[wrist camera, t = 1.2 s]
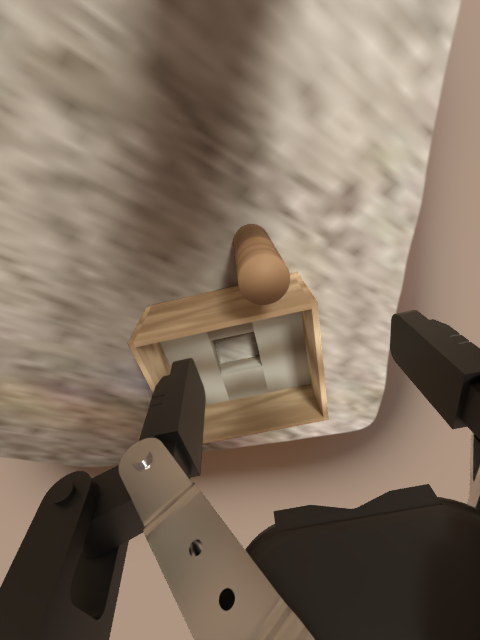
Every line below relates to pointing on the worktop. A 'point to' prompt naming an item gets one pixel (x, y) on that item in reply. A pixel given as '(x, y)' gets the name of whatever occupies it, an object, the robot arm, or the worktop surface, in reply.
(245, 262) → the peg
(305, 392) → the crate
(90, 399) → the worktop surface
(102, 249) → the worktop surface
